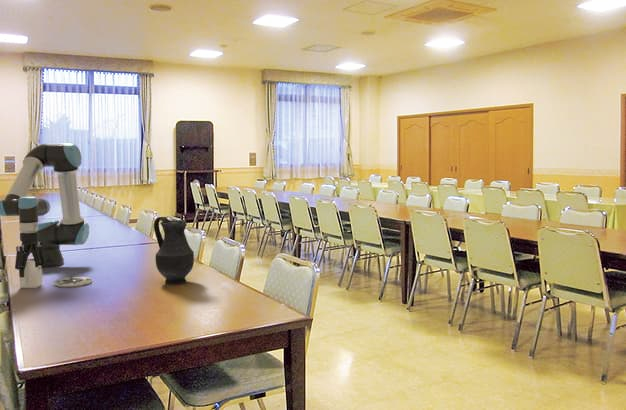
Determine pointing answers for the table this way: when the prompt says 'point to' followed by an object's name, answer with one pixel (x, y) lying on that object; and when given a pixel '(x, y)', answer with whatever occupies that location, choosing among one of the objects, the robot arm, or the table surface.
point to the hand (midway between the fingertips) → (31, 282)
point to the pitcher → (173, 251)
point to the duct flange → (72, 282)
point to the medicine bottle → (32, 274)
